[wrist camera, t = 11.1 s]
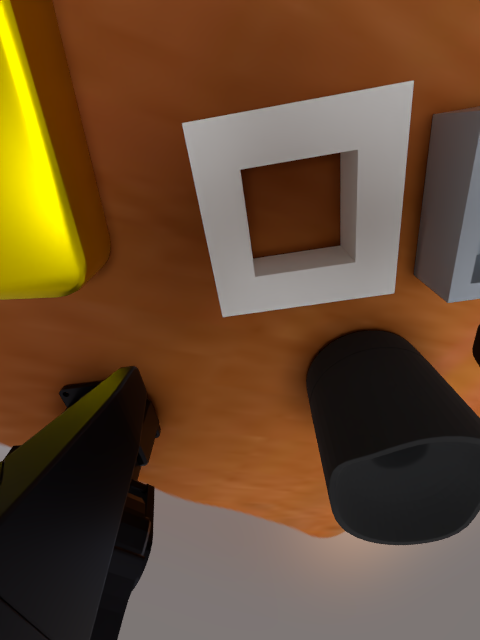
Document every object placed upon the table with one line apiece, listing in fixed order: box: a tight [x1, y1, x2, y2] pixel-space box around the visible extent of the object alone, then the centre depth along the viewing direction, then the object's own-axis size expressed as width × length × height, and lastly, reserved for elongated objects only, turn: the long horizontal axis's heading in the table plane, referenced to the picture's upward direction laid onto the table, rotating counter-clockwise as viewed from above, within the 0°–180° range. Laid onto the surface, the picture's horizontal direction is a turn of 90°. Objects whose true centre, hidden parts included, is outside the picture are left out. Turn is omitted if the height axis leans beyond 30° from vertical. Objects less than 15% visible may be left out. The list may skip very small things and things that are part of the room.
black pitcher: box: [306, 331, 480, 545], centre depth 21 cm, size 9×9×10 cm
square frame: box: [182, 80, 414, 317], centre depth 18 cm, size 10×10×3 cm
